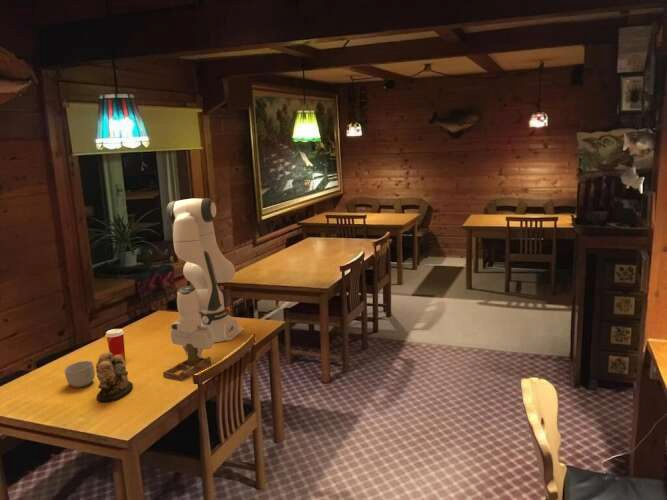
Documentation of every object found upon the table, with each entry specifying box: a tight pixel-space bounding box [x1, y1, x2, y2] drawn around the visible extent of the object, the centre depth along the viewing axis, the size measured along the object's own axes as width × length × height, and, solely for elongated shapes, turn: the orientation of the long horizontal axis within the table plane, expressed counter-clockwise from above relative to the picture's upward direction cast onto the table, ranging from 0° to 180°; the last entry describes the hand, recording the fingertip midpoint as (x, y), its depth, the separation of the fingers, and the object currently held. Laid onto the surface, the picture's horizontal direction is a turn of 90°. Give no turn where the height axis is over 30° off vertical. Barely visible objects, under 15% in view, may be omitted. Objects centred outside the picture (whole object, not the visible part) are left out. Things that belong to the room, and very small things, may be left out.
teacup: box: [63, 359, 96, 388], centre depth 227 cm, size 14×11×8 cm
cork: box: [186, 344, 201, 366], centre depth 238 cm, size 6×6×11 cm
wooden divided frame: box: [162, 356, 212, 382], centre depth 235 cm, size 18×10×4 cm, turn 152°
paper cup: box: [105, 328, 126, 362], centre depth 247 cm, size 8×8×14 cm
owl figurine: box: [95, 351, 134, 403], centre depth 215 cm, size 18×12×17 cm, turn 177°
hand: (193, 355), depth 238 cm, fingers closed on cork, 4 cm apart
